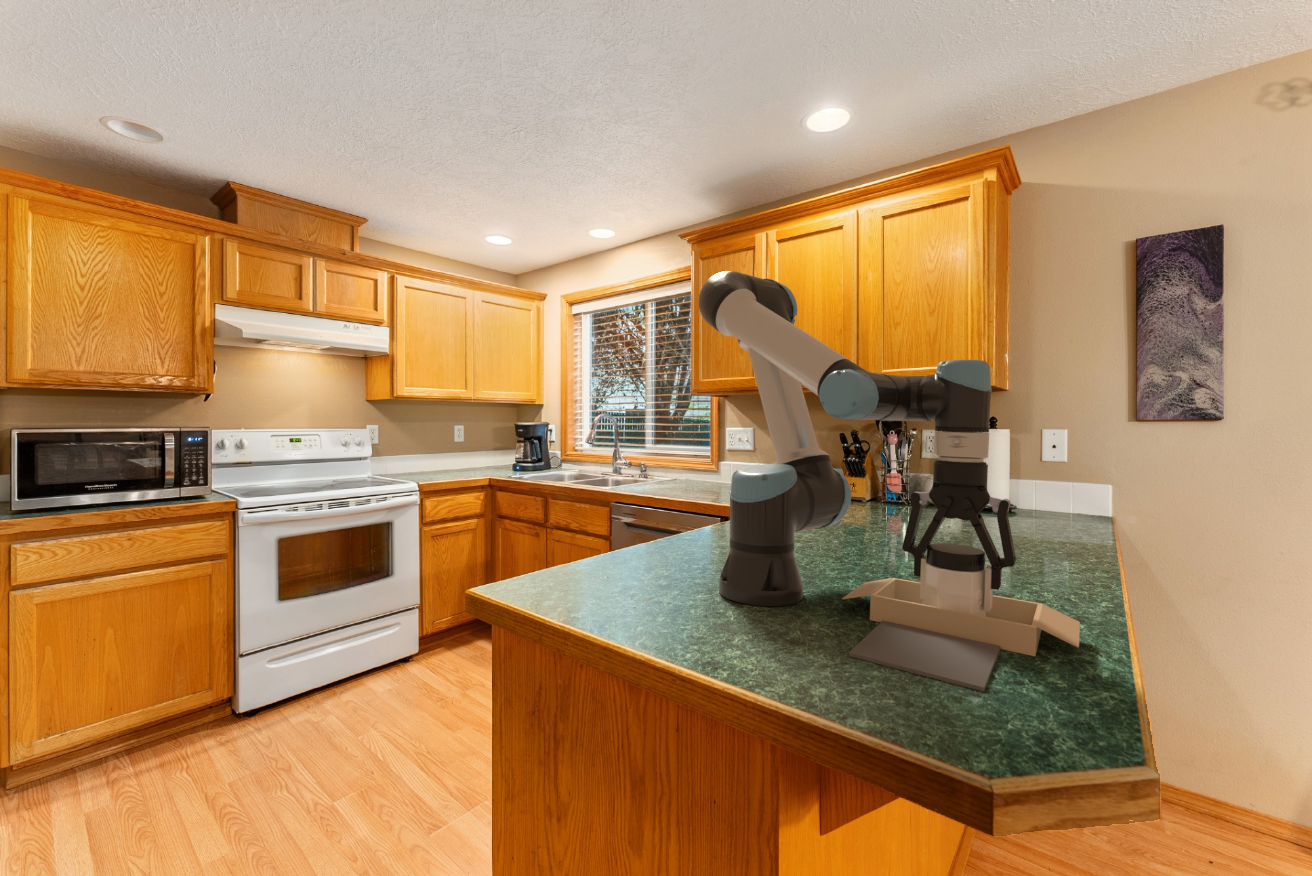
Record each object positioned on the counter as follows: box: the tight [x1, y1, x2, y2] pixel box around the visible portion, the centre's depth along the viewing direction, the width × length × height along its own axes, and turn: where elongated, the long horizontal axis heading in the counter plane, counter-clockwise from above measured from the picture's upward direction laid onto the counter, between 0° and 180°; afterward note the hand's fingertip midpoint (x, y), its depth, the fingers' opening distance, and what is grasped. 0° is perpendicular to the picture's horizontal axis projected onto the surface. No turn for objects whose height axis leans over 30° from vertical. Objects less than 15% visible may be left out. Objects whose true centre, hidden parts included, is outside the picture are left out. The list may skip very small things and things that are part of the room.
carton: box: [842, 577, 1081, 657], centre depth 90 cm, size 32×13×4 cm, turn 53°
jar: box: [922, 542, 986, 616], centre depth 90 cm, size 9×8×12 cm
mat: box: [848, 621, 1001, 692], centre depth 79 cm, size 16×16×1 cm
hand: (955, 602), depth 90 cm, fingers closed on jar, 8 cm apart
